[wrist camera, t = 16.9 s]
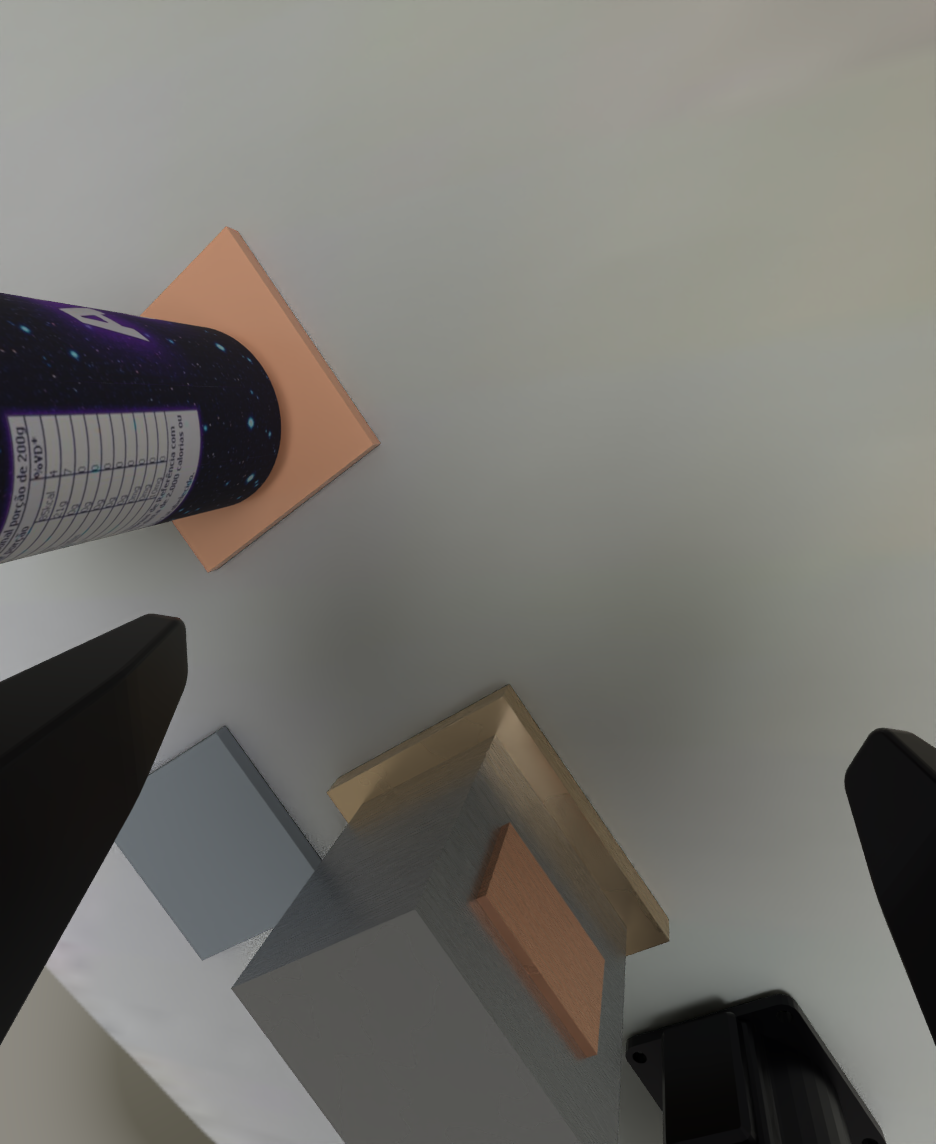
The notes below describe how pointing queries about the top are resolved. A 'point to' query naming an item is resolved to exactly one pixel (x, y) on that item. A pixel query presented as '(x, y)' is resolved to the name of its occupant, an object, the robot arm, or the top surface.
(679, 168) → the top surface
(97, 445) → the beverage can
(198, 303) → the terracotta pad
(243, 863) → the slate pad
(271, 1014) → the grey unit
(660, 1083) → the robot arm
